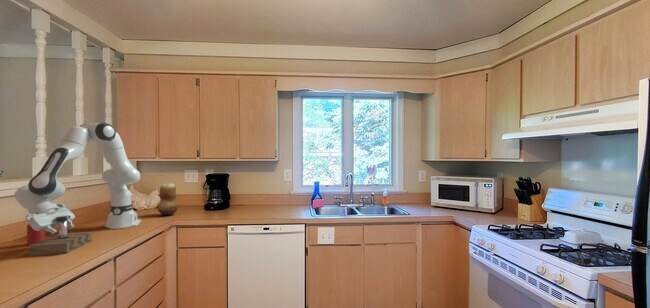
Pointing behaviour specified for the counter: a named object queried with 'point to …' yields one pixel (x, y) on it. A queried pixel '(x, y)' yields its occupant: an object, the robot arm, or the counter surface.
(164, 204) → the butternut squash
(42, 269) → the counter surface
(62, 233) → the steel peg
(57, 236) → the brown flat block
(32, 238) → the beer can
